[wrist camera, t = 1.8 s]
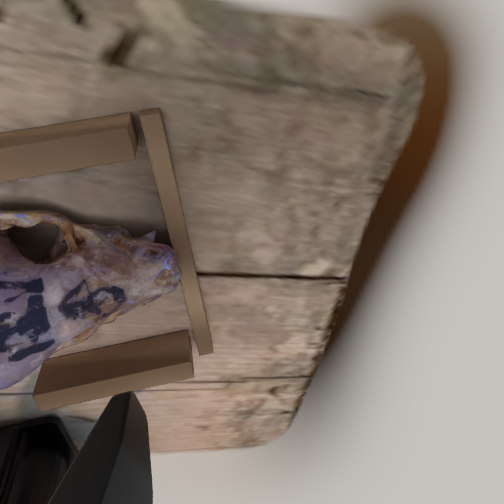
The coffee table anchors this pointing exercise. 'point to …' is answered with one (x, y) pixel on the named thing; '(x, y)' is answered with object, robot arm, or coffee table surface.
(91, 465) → the robot arm
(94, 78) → the coffee table surface
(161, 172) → the rail notch
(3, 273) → the skull
